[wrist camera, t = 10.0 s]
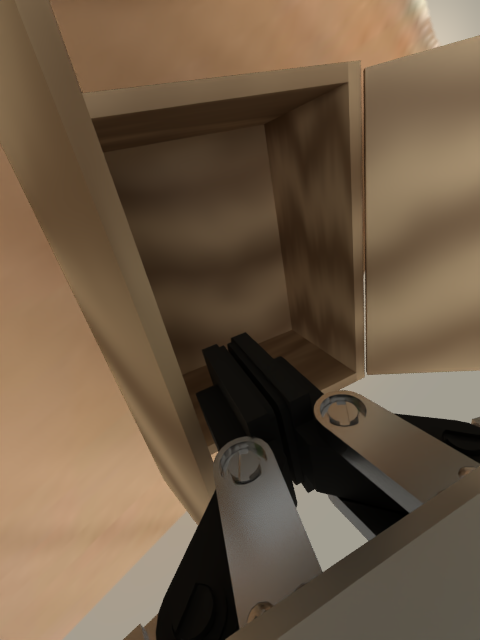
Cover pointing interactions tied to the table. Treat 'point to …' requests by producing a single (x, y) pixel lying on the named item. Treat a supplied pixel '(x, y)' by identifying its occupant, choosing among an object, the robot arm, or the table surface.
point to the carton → (247, 213)
